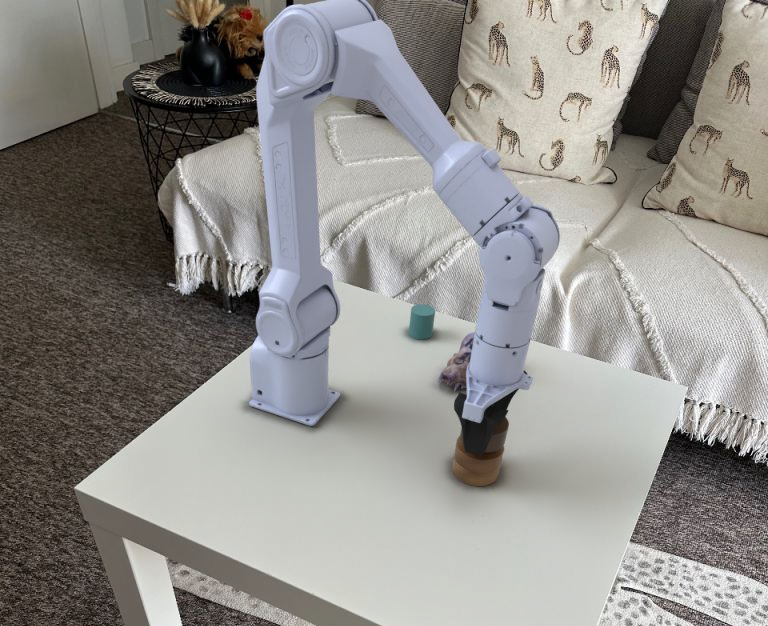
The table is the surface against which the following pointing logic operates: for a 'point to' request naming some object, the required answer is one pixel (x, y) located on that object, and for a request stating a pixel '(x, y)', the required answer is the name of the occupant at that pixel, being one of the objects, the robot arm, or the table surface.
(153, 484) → the table surface
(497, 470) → the bottom chip
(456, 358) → the skull
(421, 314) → the teal cylinder peg
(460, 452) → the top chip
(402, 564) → the table surface
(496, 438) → the walnut chip
